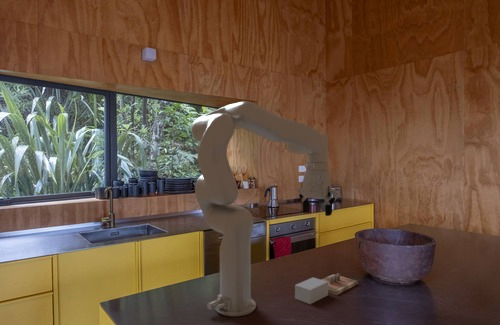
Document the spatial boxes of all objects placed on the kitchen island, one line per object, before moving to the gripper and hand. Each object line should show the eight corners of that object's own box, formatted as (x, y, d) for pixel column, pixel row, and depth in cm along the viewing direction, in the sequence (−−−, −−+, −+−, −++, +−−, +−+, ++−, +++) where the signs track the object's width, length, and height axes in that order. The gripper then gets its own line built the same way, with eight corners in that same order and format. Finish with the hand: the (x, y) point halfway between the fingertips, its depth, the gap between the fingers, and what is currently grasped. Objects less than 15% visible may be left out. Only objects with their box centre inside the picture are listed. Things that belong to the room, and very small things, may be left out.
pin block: (336, 295, 116) (336, 284, 116) (311, 287, 123) (311, 276, 123) (357, 284, 126) (357, 274, 126) (333, 277, 133) (333, 267, 133)
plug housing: (310, 304, 109) (310, 290, 109) (294, 298, 113) (295, 285, 113) (327, 295, 116) (327, 281, 116) (313, 290, 120) (313, 277, 120)
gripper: (292, 167, 131) (292, 212, 132) (332, 168, 119) (332, 218, 119) (304, 166, 137) (303, 210, 137) (343, 167, 124) (343, 215, 125)
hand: (317, 213), depth 128 cm, fingers open, 9 cm apart
